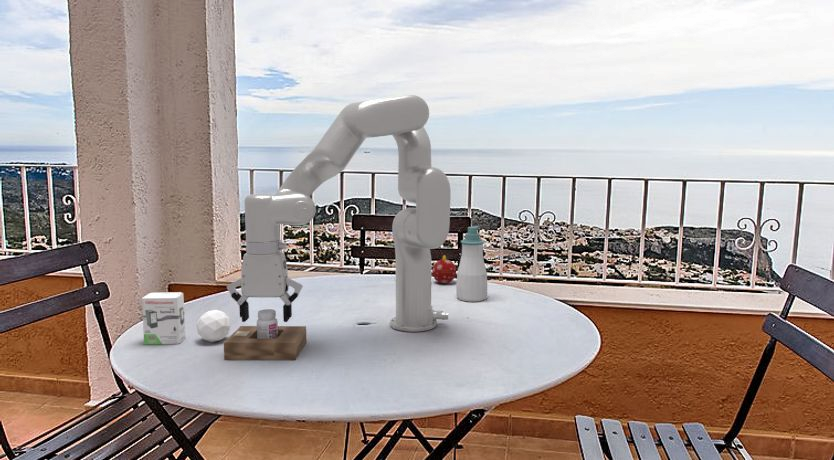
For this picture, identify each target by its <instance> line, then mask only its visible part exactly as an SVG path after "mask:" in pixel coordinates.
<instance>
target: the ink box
mask: <svg viewBox="0 0 834 460" xmlns="http://www.w3.org/2000/svg"><path fill="white" fill-rule="evenodd" d="M141 307H142V310H141V311H142V326H143V345H179V344H181V342H183V341H184V340H185V339H186V318H185V300H184V292H181V291H179V292H174V291H173V292H171V291H170V292H150V293H148V294H146V295H145V296H143V297H141Z"/></svg>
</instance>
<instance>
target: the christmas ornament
mask: <svg viewBox="0 0 834 460" xmlns="http://www.w3.org/2000/svg"><path fill="white" fill-rule="evenodd" d="M431 275H432V277H433V278H434V280H435V281H437V282H438V283H440V284H448V283H451V282H452V281H453V280H454V279H455V278H456V277H457V266H456V265H455V263H454V262H453V261H451V260H449V259H448V258H447V257H446V255H445V254H444V255H443V256H442V259H439V260H437V261H436V262H435V263H434V265H433V267H432V268H431Z"/></svg>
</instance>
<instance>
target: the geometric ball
mask: <svg viewBox="0 0 834 460" xmlns="http://www.w3.org/2000/svg"><path fill="white" fill-rule="evenodd" d="M231 325H232V324H231V318H230V317H229V316H228V315H227V314H226V313H225V312H224V311H222V310H218V309H212V310H209V311H206V312H204V313H203V314H202V315H200V317H199V319H198V321H197V323H196V329H197V334H198V335H200V337H201V338H202V339H203V340H205V341H208V342H211V343H214V342H219V341H221V340H223V339H224V338H225V337H227V336H228V335H229V332H230V330H231Z"/></svg>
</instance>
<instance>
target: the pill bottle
mask: <svg viewBox="0 0 834 460" xmlns="http://www.w3.org/2000/svg"><path fill="white" fill-rule="evenodd" d="M276 313H277V311H276V310H275V309H271V308H270V309H268V308H267V309H266V308H265V309H260V310H259V311H257V320H256V326H257V339H277V338H278V326H279V325H278V319H277V318H276V315H277V314H276Z"/></svg>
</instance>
